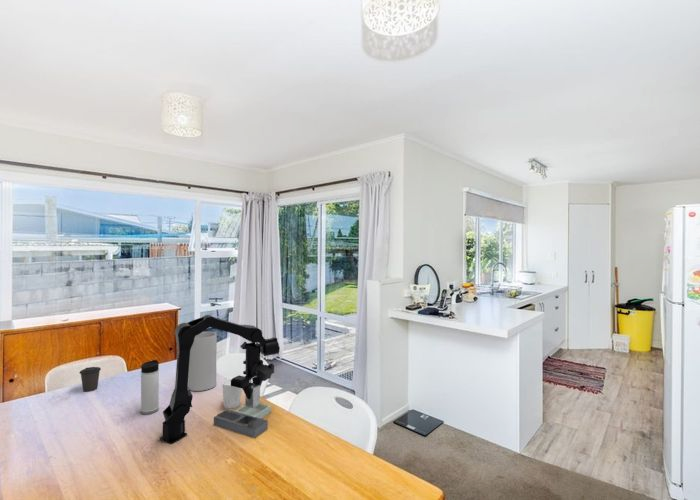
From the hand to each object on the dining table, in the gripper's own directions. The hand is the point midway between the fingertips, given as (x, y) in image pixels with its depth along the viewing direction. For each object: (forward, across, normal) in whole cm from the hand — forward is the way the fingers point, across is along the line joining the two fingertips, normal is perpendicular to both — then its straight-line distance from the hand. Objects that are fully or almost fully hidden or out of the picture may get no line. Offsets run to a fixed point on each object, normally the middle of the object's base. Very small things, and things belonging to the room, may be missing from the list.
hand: (252, 396), depth 138 cm
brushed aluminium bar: (+4, 0, 0) cm, 4 cm away
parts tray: (+7, 0, 0) cm, 7 cm away
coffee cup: (+8, -15, +85) cm, 87 cm away
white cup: (+8, +3, +14) cm, 16 cm away
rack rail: (+7, -9, -2) cm, 12 cm away
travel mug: (+8, -16, +40) cm, 44 cm away
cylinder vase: (+8, +11, +41) cm, 43 cm away
